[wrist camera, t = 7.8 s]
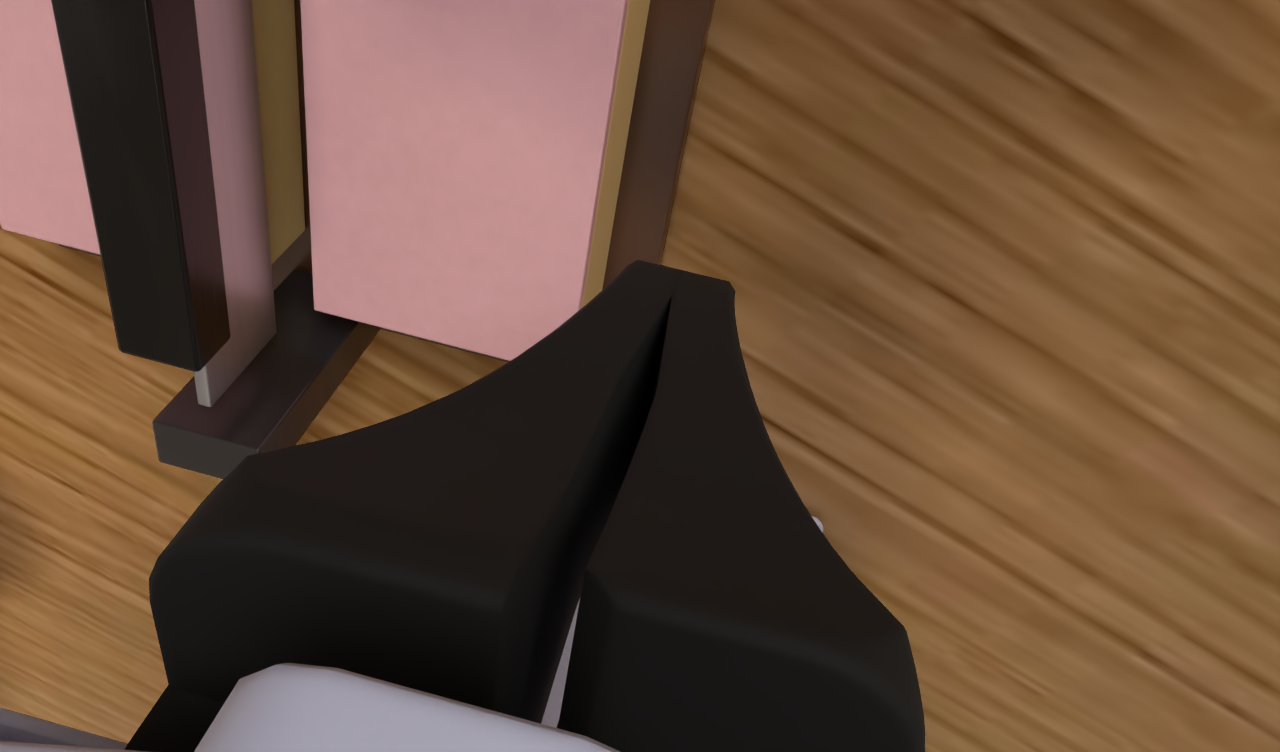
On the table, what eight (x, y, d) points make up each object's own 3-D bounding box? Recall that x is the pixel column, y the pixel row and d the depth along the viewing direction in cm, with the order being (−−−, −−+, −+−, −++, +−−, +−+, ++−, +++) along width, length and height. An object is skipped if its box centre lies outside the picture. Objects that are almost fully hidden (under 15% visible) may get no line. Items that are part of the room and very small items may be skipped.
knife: (304, 340, 23) (209, 454, 20) (237, 322, 23) (133, 433, 20) (263, -448, 14) (85, -465, 11) (157, -470, 15) (-48, -492, 11)
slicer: (638, 377, 27) (568, 577, 22) (76, 232, 28) (-131, 387, 23) (818, -504, 16) (771, -569, 10) (-116, -691, 17) (-618, -842, 12)
